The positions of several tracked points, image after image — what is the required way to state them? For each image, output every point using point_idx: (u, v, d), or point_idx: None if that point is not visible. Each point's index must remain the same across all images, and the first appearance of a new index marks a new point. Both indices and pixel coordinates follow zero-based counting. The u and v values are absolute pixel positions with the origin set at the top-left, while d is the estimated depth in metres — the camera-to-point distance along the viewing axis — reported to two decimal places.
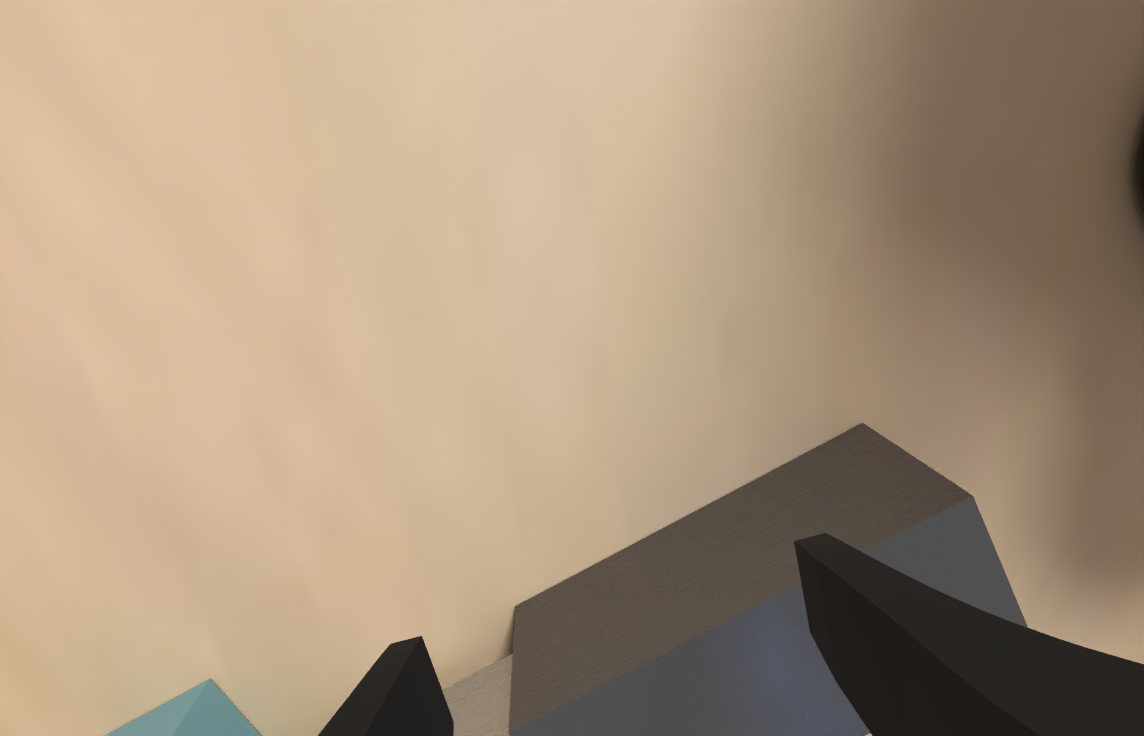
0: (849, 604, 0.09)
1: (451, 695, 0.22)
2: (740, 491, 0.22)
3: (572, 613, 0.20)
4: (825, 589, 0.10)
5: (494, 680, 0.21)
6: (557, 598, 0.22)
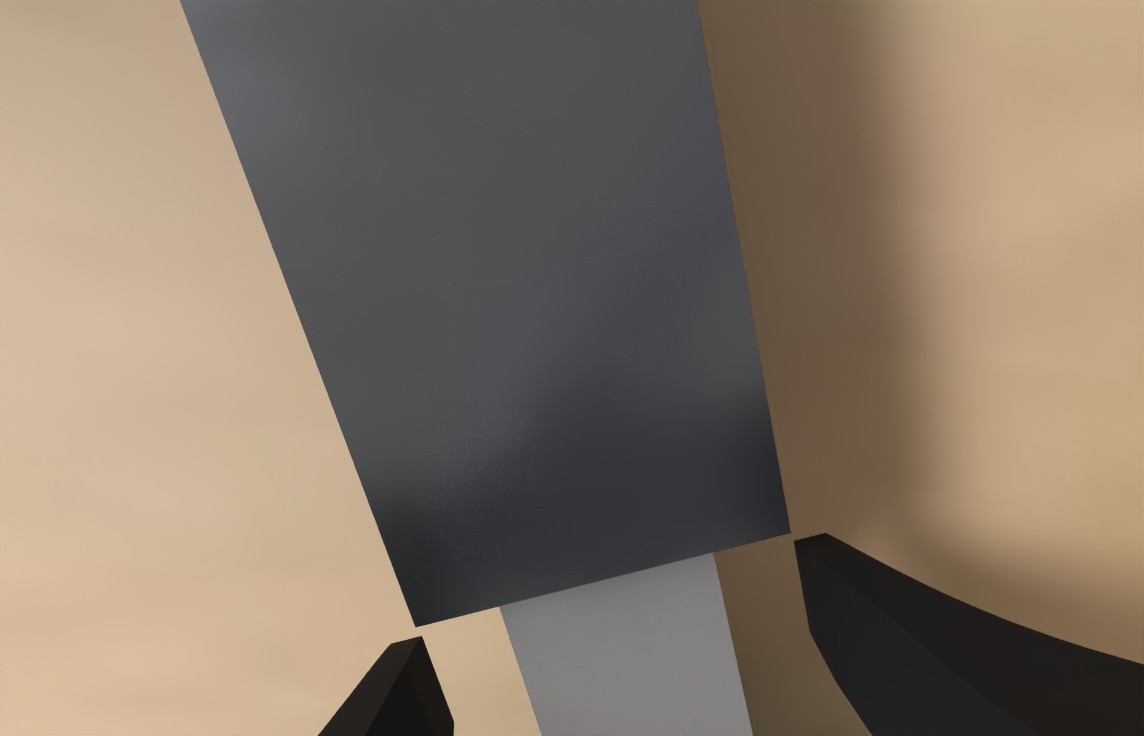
0: (849, 604, 0.09)
1: None
2: None
3: None
4: (825, 589, 0.10)
5: None
6: None
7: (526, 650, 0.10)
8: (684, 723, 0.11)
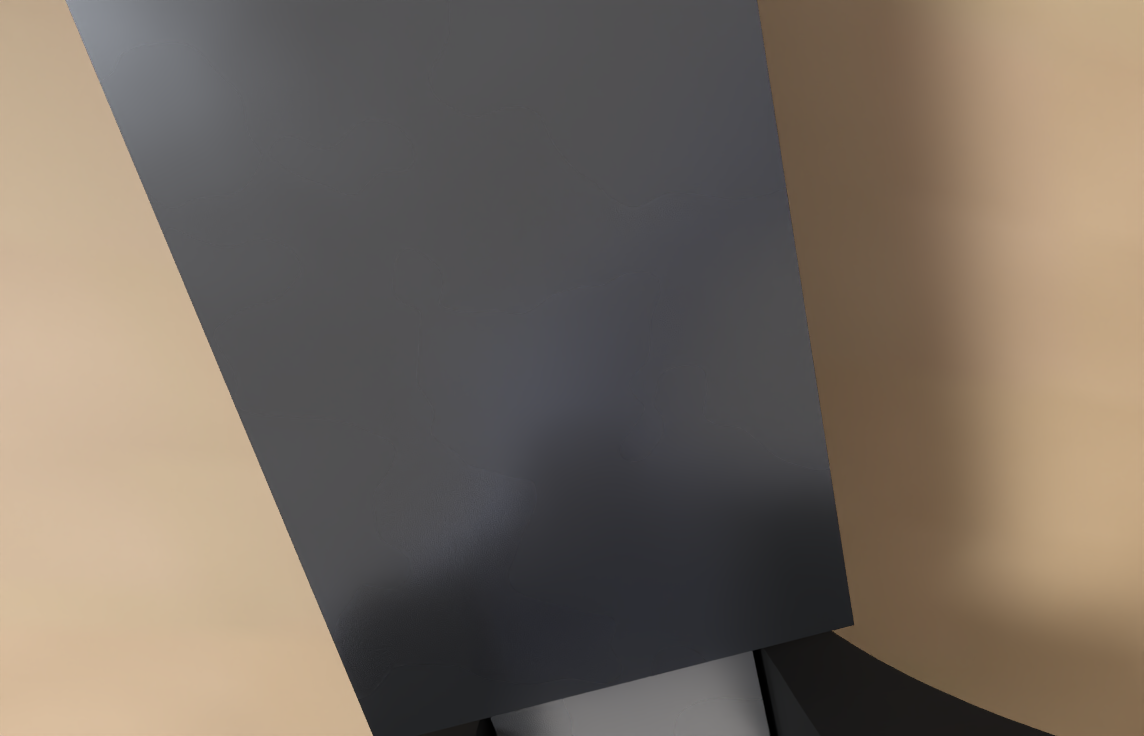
0: None
1: None
2: None
3: None
4: None
5: None
6: None
7: None
8: None
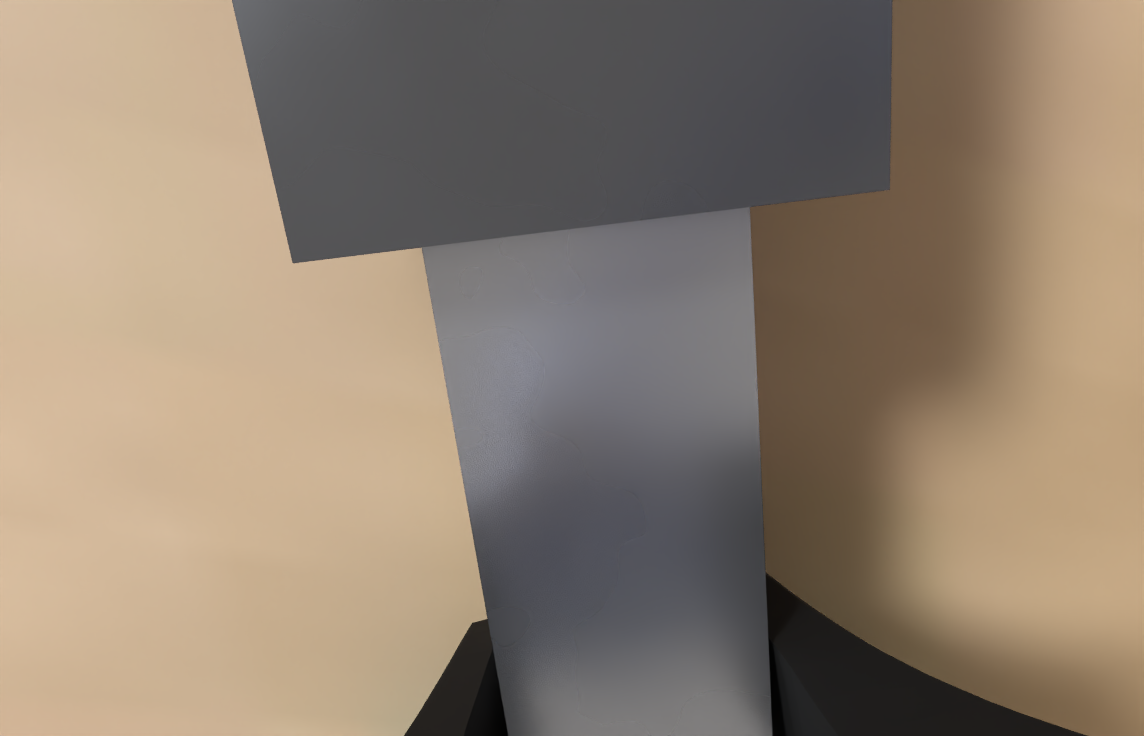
0: None
1: None
2: None
3: None
4: None
5: None
6: None
7: (521, 725, 0.08)
8: None
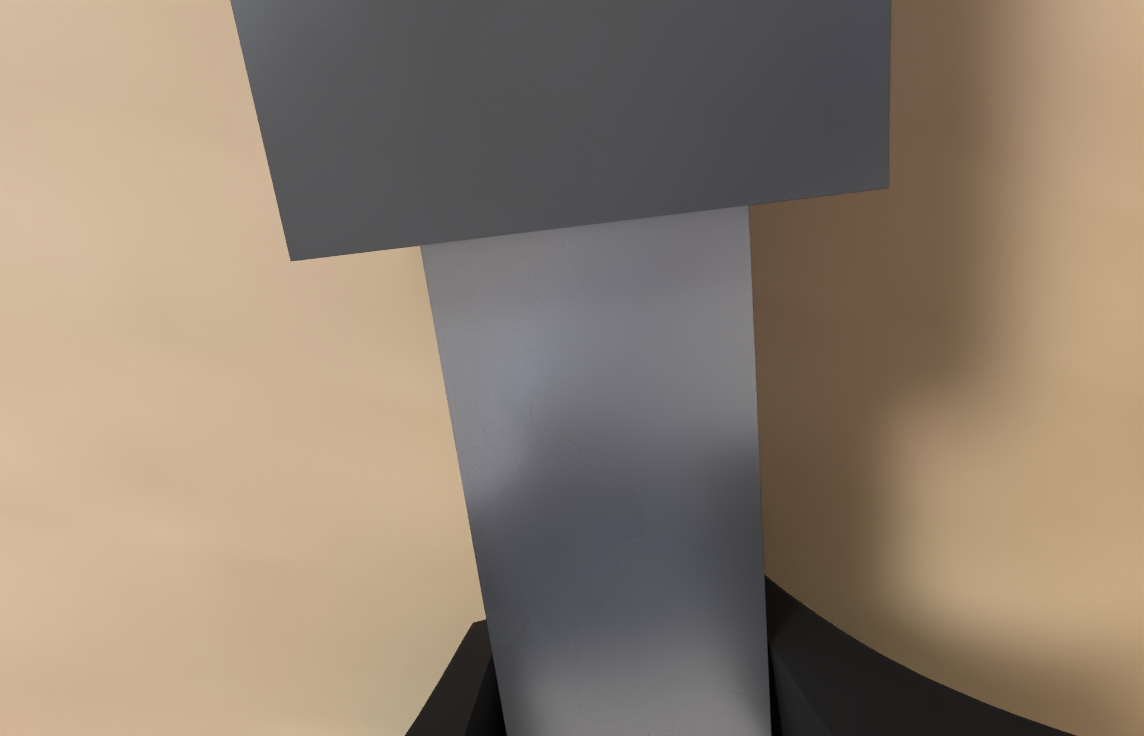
0: None
1: None
2: None
3: None
4: None
5: None
6: None
7: (520, 726, 0.08)
8: None
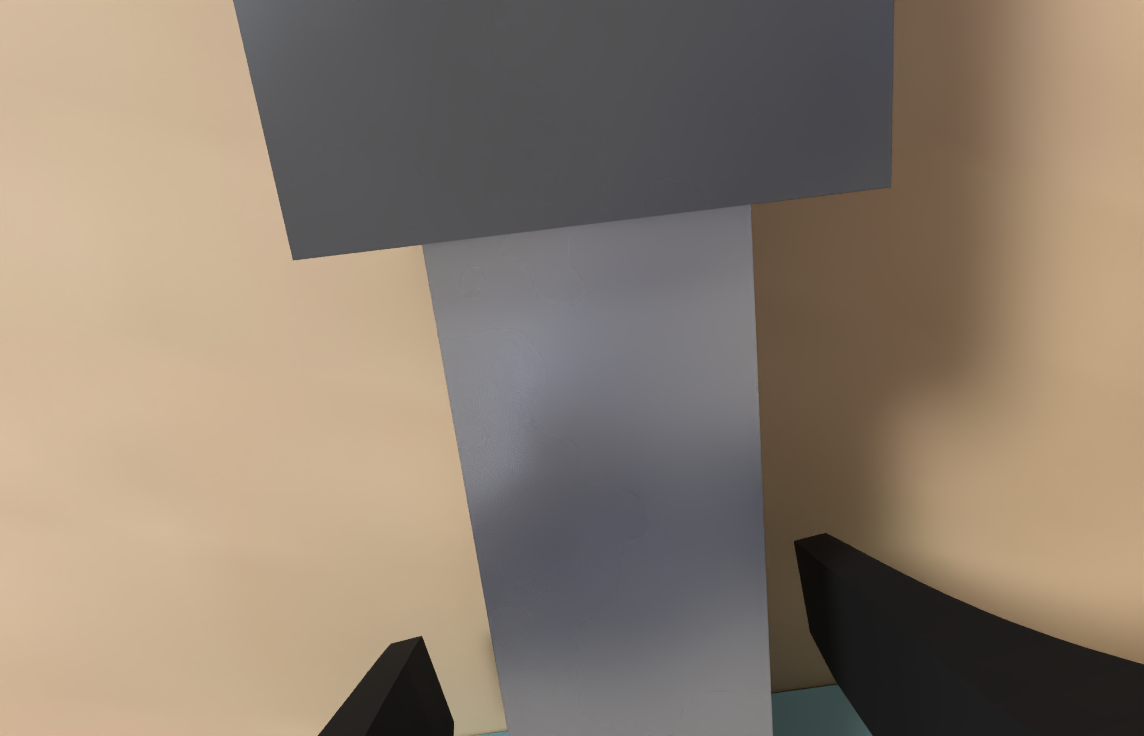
0: (849, 604, 0.09)
1: None
2: None
3: None
4: (825, 589, 0.10)
5: None
6: None
7: (522, 725, 0.08)
8: None
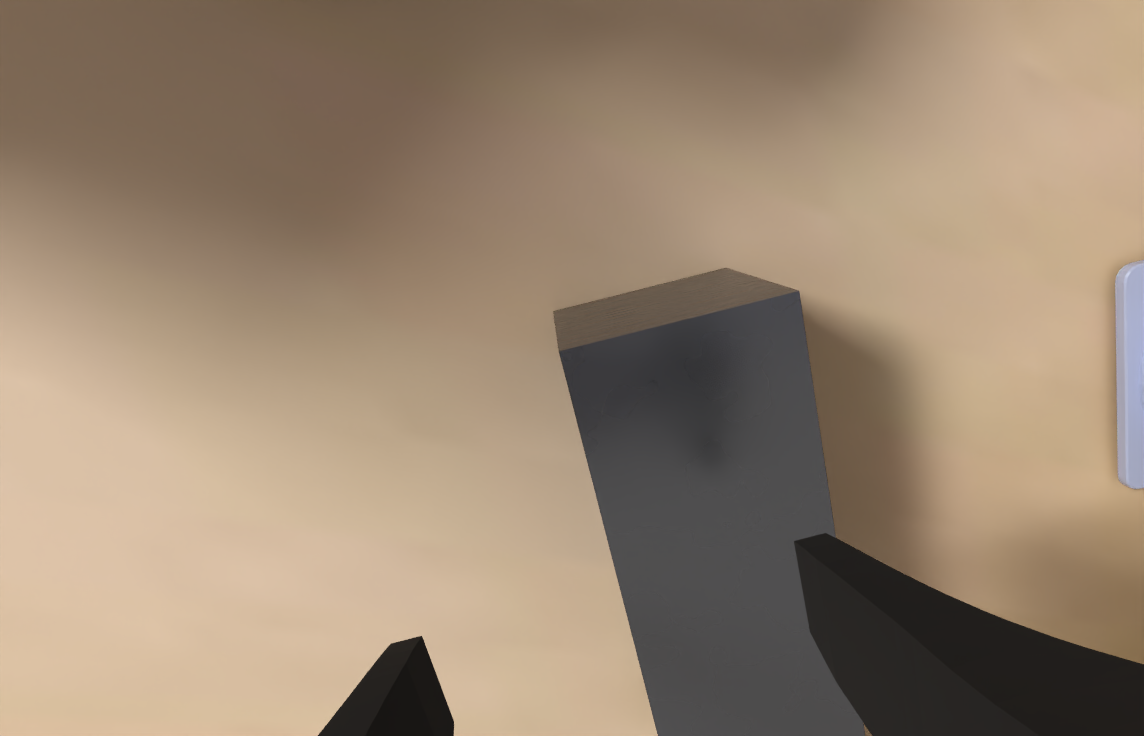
0: (849, 604, 0.09)
1: None
2: None
3: None
4: (825, 589, 0.10)
5: None
6: None
7: None
8: None
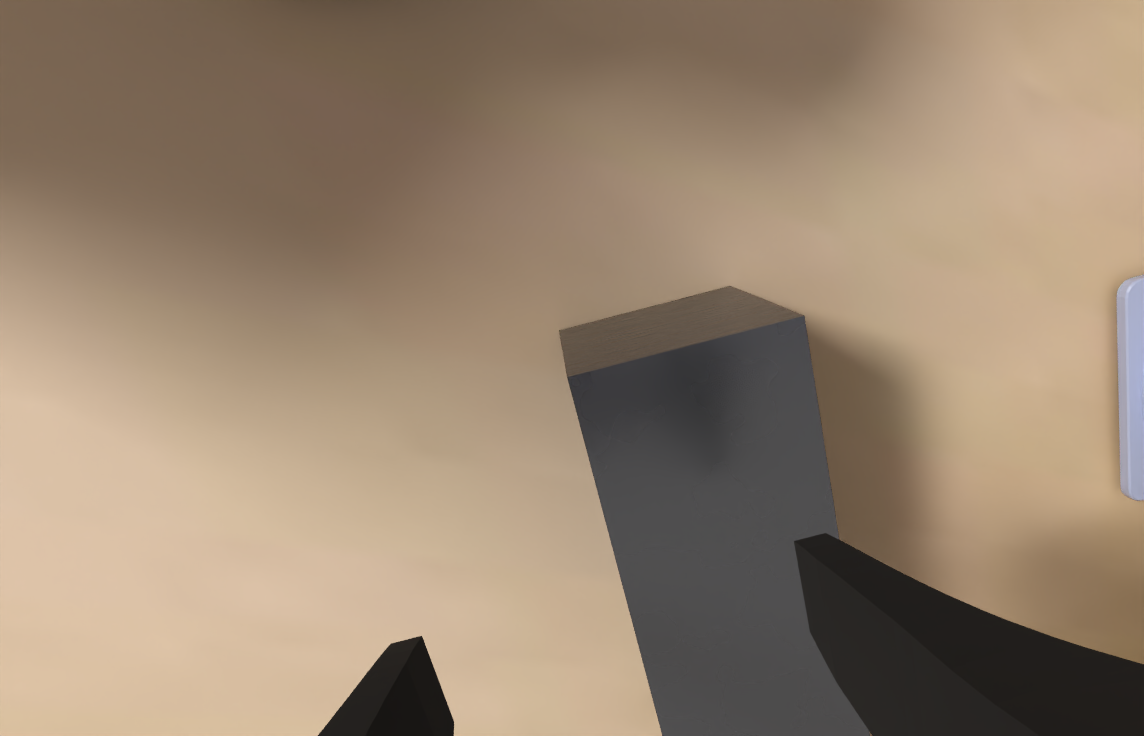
0: (849, 604, 0.09)
1: None
2: None
3: None
4: (825, 589, 0.10)
5: None
6: None
7: None
8: None
